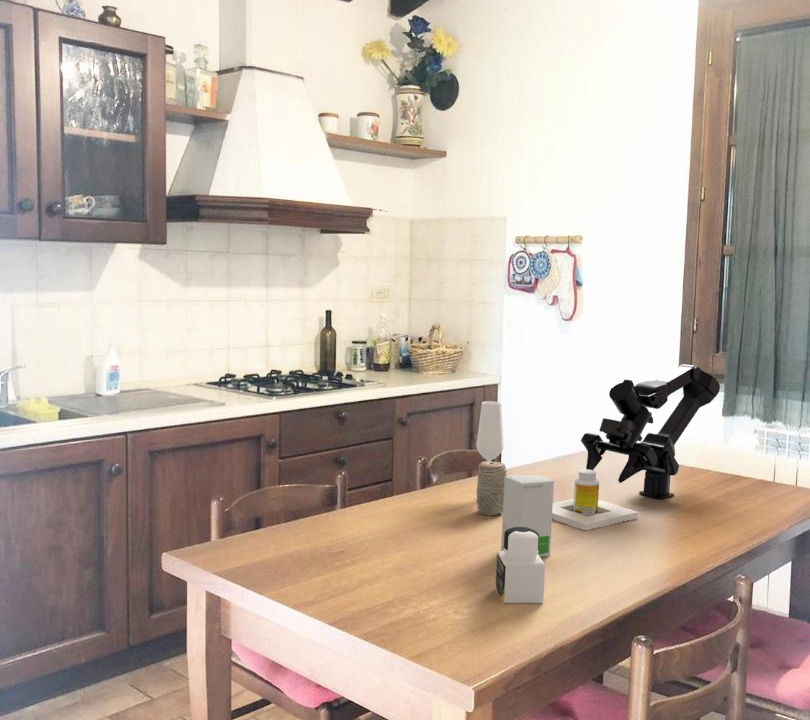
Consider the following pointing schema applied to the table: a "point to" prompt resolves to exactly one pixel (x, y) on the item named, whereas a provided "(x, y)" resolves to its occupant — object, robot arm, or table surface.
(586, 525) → the socket plate
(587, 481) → the supplement bottle
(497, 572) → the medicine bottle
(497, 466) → the carving
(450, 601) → the table surface
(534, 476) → the skincare box
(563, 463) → the table surface
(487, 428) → the champagne flute
